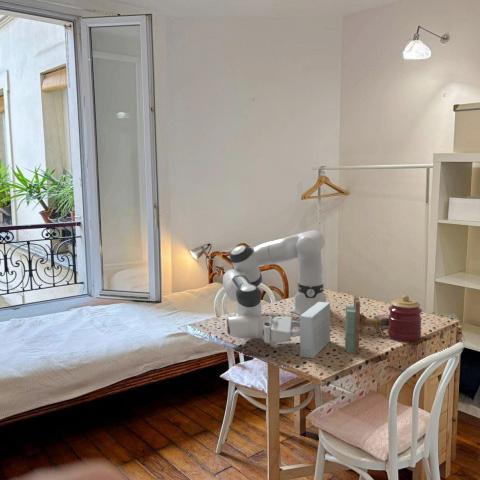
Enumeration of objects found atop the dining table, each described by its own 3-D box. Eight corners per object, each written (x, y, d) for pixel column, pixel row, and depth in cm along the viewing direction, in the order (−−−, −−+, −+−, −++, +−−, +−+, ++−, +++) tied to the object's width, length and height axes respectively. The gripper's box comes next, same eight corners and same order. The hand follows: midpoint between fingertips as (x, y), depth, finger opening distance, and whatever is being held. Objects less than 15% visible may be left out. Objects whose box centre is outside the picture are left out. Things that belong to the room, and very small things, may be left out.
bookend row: (345, 344, 199) (345, 295, 196) (356, 345, 199) (357, 295, 196) (346, 353, 190) (347, 301, 187) (358, 353, 190) (360, 302, 187)
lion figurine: (349, 333, 212) (349, 313, 211) (351, 329, 217) (351, 309, 216) (385, 337, 207) (386, 316, 206) (386, 333, 212) (387, 312, 211)
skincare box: (317, 338, 206) (318, 301, 204) (330, 341, 204) (331, 302, 201) (298, 356, 188) (299, 315, 185) (312, 359, 185) (313, 317, 183)
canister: (390, 342, 202) (391, 299, 199) (385, 331, 214) (386, 290, 212) (424, 343, 200) (425, 299, 197) (417, 332, 212) (419, 291, 210)
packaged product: (382, 320, 215) (369, 313, 225) (382, 331, 216) (369, 324, 226) (418, 315, 221) (404, 309, 230) (418, 326, 222) (404, 319, 231)
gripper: (269, 326, 208) (303, 328, 206) (265, 344, 188) (302, 346, 186) (269, 312, 207) (303, 313, 205) (265, 328, 187) (302, 329, 185)
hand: (303, 328), depth 195 cm, fingers open, 8 cm apart
